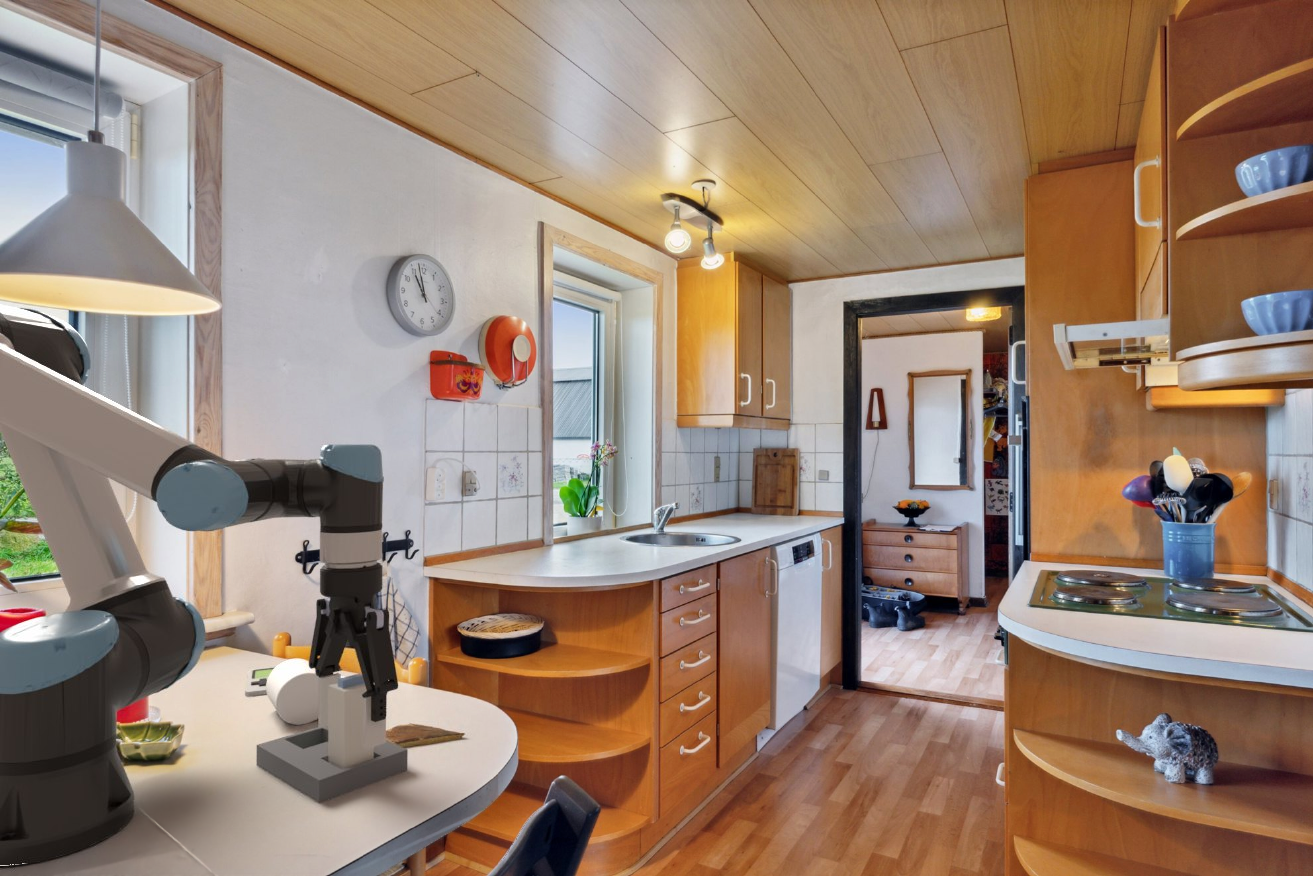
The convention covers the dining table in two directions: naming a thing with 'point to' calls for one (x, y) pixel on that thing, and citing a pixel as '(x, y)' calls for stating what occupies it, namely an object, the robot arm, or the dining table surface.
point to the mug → (294, 691)
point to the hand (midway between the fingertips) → (351, 734)
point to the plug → (347, 723)
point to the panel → (325, 764)
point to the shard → (419, 735)
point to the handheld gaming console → (257, 681)
